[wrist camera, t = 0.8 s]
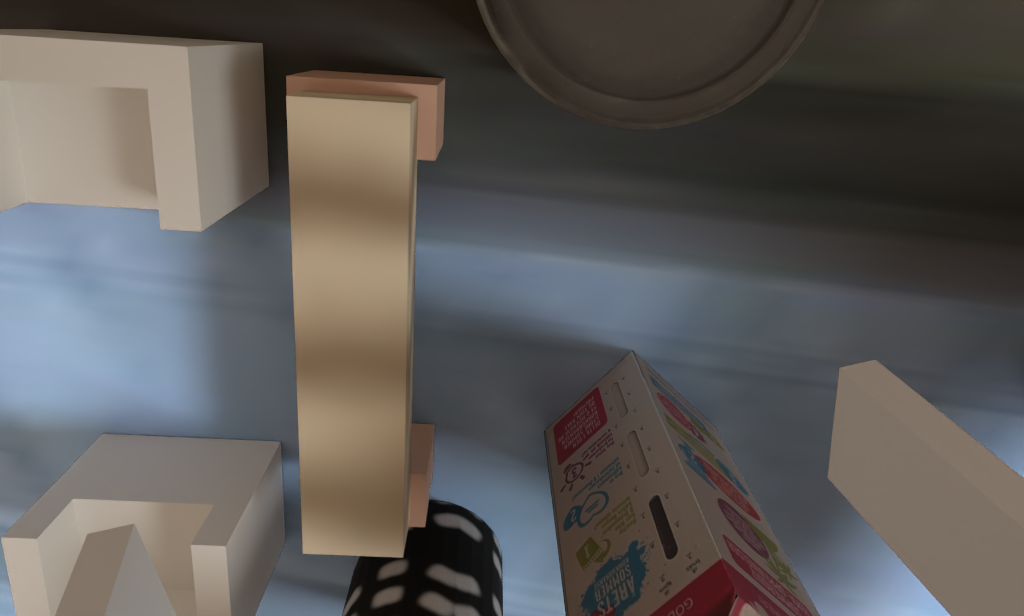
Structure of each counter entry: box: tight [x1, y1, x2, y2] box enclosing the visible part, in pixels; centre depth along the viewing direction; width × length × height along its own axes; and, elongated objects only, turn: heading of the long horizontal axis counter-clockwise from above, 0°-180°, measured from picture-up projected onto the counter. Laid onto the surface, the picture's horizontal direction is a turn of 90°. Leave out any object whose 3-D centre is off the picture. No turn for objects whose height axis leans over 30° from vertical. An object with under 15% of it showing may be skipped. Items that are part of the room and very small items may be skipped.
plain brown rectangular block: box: [286, 70, 445, 527], centre depth 36 cm, size 21×6×5 cm, turn 176°
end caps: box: [0, 29, 285, 616], centre depth 35 cm, size 27×10×9 cm, turn 176°
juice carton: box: [544, 350, 820, 616], centre depth 31 cm, size 7×7×22 cm
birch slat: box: [286, 90, 418, 558], centre depth 33 cm, size 20×4×3 cm, turn 176°
